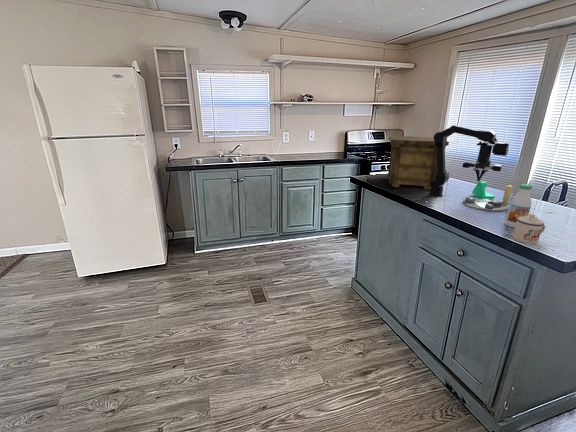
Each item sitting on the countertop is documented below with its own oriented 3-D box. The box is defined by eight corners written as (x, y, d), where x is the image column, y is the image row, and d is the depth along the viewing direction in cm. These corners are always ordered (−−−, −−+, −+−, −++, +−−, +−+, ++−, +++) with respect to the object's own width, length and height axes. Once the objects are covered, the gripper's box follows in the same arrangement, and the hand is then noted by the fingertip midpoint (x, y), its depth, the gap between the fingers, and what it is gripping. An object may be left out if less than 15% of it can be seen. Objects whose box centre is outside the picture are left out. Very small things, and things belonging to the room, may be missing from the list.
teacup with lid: (523, 245, 123) (531, 218, 120) (506, 236, 132) (513, 210, 128) (550, 244, 125) (559, 217, 121) (531, 235, 133) (538, 210, 129)
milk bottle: (501, 223, 147) (511, 183, 140) (515, 223, 148) (527, 183, 141) (513, 229, 140) (525, 187, 133) (528, 228, 141) (541, 187, 134)
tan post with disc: (487, 208, 164) (492, 188, 161) (477, 204, 171) (481, 185, 167) (512, 206, 168) (517, 187, 164) (501, 203, 174) (506, 184, 171)
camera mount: (494, 200, 185) (498, 184, 182) (482, 200, 185) (486, 183, 182) (483, 195, 197) (486, 179, 193) (471, 195, 197) (474, 179, 193)
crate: (384, 177, 244) (389, 135, 233) (431, 180, 236) (438, 137, 225) (385, 187, 212) (391, 139, 201) (439, 191, 204) (449, 141, 193)
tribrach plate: (482, 212, 163) (483, 206, 162) (453, 200, 183) (454, 195, 182) (516, 210, 167) (518, 204, 166) (485, 199, 187) (486, 194, 186)
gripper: (463, 153, 170) (457, 181, 175) (502, 157, 159) (495, 186, 164) (467, 151, 178) (461, 178, 183) (505, 155, 167) (498, 182, 172)
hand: (478, 181), depth 175 cm, fingers closed
